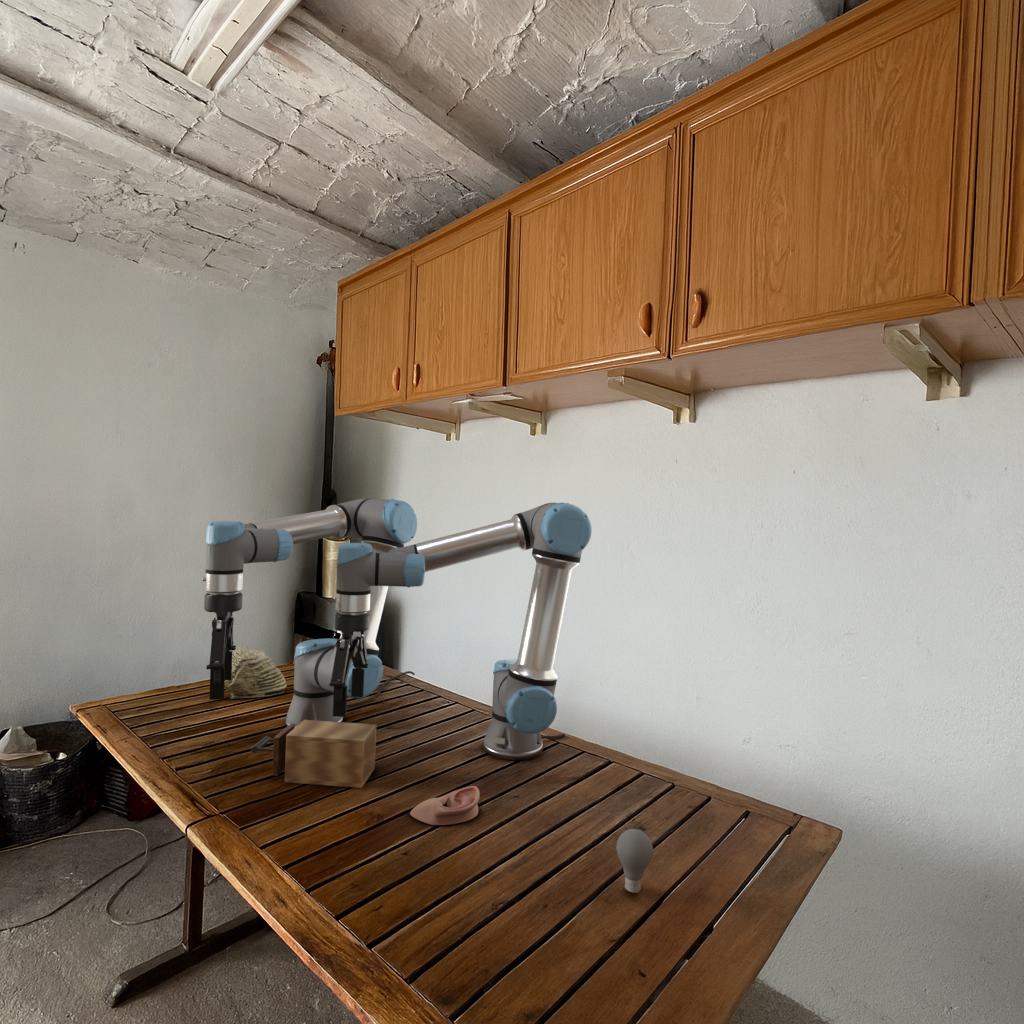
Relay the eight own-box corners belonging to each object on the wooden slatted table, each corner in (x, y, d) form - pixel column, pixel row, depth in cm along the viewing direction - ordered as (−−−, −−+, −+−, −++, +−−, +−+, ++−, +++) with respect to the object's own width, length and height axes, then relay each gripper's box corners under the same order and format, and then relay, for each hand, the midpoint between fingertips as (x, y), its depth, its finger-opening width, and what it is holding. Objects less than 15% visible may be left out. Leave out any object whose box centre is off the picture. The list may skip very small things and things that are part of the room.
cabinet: (284, 782, 140) (286, 735, 140) (302, 763, 150) (304, 719, 150) (361, 788, 138) (363, 740, 138) (374, 768, 149) (376, 724, 148)
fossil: (218, 695, 195) (220, 647, 195) (278, 685, 208) (279, 640, 207) (228, 703, 189) (230, 653, 188) (289, 692, 201) (290, 645, 201)
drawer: (247, 774, 141) (248, 735, 141) (265, 757, 150) (267, 721, 150) (343, 781, 139) (345, 742, 139) (356, 764, 148) (357, 728, 148)
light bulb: (610, 879, 108) (613, 822, 108) (644, 879, 109) (647, 822, 109) (619, 902, 102) (622, 840, 102) (655, 901, 103) (658, 840, 103)
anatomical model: (405, 801, 125) (424, 776, 136) (404, 821, 125) (423, 795, 136) (470, 810, 122) (484, 785, 133) (469, 831, 122) (483, 803, 133)
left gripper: (212, 584, 148) (210, 673, 149) (195, 602, 125) (192, 709, 125) (247, 583, 151) (244, 672, 151) (236, 601, 127) (233, 706, 127)
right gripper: (352, 602, 155) (348, 688, 155) (316, 621, 130) (312, 724, 130) (382, 603, 154) (379, 690, 155) (352, 623, 130) (348, 726, 130)
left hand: (221, 689), depth 138 cm, fingers open, 13 cm apart
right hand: (348, 706), depth 143 cm, fingers open, 13 cm apart
